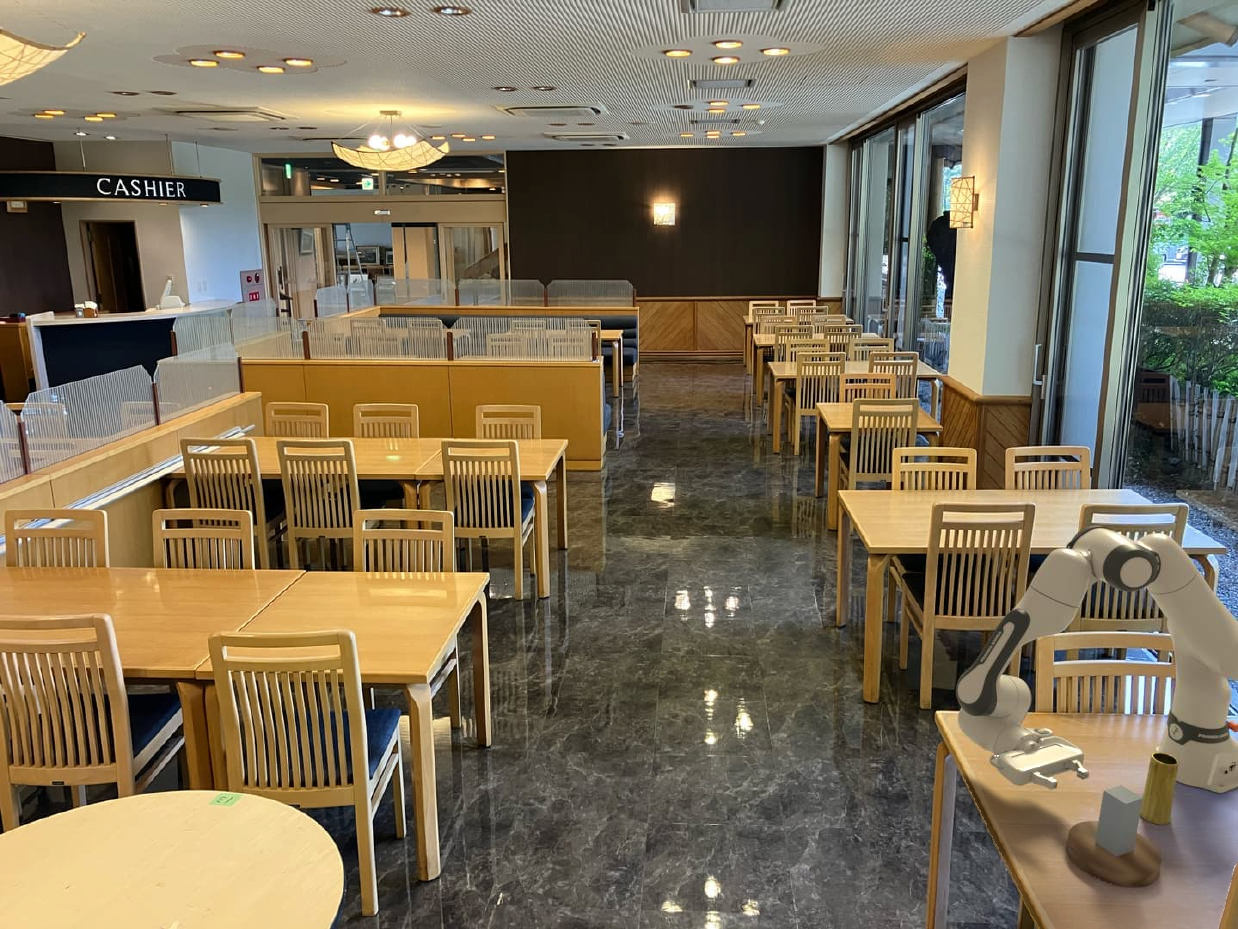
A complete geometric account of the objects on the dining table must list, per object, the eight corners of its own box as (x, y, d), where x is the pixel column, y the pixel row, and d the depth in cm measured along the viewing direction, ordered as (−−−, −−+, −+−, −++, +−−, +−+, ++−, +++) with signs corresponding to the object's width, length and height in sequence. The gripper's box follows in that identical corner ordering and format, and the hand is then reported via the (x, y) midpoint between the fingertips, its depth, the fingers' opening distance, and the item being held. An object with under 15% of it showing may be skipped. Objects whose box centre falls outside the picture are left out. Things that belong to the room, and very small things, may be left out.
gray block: (1112, 836, 201) (1120, 784, 198) (1133, 850, 197) (1143, 798, 194) (1095, 842, 199) (1103, 790, 196) (1116, 857, 195) (1125, 804, 192)
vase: (1158, 828, 209) (1169, 769, 205) (1132, 812, 214) (1142, 754, 211) (1176, 820, 212) (1187, 762, 208) (1150, 805, 217) (1160, 748, 213)
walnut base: (1115, 828, 209) (1117, 816, 208) (1179, 879, 193) (1181, 866, 192) (1048, 840, 204) (1050, 827, 203) (1107, 893, 188) (1110, 880, 188)
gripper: (986, 746, 213) (1037, 779, 201) (1053, 727, 221) (1106, 757, 209) (982, 771, 214) (1033, 806, 202) (1049, 752, 223) (1101, 783, 211)
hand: (1071, 781), depth 206 cm, fingers open, 8 cm apart
